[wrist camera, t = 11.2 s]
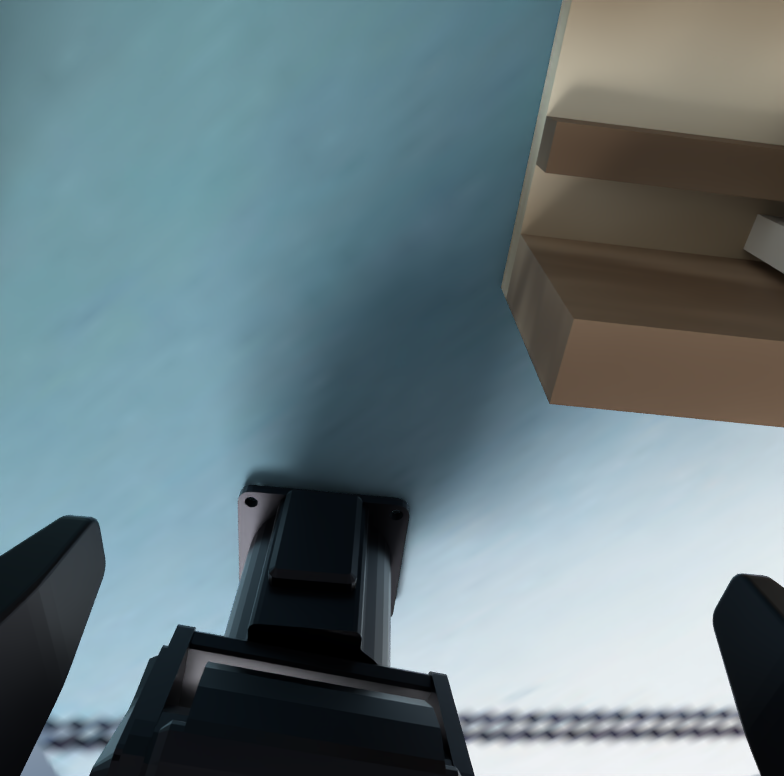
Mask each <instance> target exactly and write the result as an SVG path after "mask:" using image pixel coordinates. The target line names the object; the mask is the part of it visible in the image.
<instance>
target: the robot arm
mask: <svg viewBox="0 0 784 776" xmlns="http://www.w3.org/2000/svg"><path fill="white" fill-rule="evenodd" d="M248 497H253V498H255V499H257V500H250V499H249V498H248ZM393 510H399V511H401V512H400V513H393V512H392V511H393ZM408 521H409V505H408V504H407V502H406V501H404V500H403V499H399V498H390V497H379V496H368V495H357V494H346V493H335V492H324V491H313V490H302V489H291V488H280V487H269V486H258V485H248V486H246V487H244V488H243V489H242V490H241V492H240V495H239V498H238V534H239V586H238V589H237V593H236V596H235V600H234V603H233V607H232V610H231V614H230V617H229V621H228V624H227V628H226V631H225V635H224V636H221V635H215V634H210V633H205V632H199V631H195V629H196V628H195V627H190V626H184V625H179V624H178V626H177V628H176V630H175V632H174V635H173V637H172V639H171V641H170V643H169V646H165V645H163V647H162V648H161V651H160V653H159V655H158V656H156V657H153V658H150V659H149V662H148V664H147V667H146V669H145V672H144V674H143V677H142V679H141V682H140V684H139V687H138V689H137V692H136V694H135V697H134V699H133V701H132V703H131V705H130V708H129V710H128V711H127V713H126V715H125V717H124V718H123V720H122V722H121V723H120V725H119V726H118V728H117V730H116V731H115V733H114V734H113V736H112V737H111V739H110V741H109V742H108V744H107V745H106V747H105V749H104V750H103V752H102V753H101V755H100V757H99V758H98V760H97V761H96V763H95V765H94V766H93V768H92V770H91V773H90V775H89V776H474V772H473V768H472V765H471V761H470V757H469V754H468V750H467V746H466V743H465V739H464V736H463V732H462V728H461V725H460V721H459V717H458V714H457V710H456V707H455V703H454V699H453V696H452V692H451V688H450V685H449V681H448V678H447V675H446V674H441V673H436V672H429V674H425V673H419V672H414V671H408V670H403V669H398V668H392V667H390V630H391V616H392V615H393V611H394V605H395V599H396V593H397V587H398V581H399V575H400V569H401V563H402V557H403V551H404V545H405V539H406V533H407V527H408ZM104 572H105V554H104V549H103V543H102V537H101V532H100V526H99V523H98V521H97V520H96V519H95V518H92V517H86V516H74V515H66V516H63V517H61V518H59V519H57V520H55V521H54V522H52V523H51V524H49V525H48V526H46V527H45V528H43V529H41V530H40V531H38V532H37V533H35V534H34V535H32V536H31V537H29V538H27V539H26V540H24V541H23V542H21V543H20V544H18V545H17V546H15V547H13V548H12V549H10V550H9V551H7V552H6V553H4V554H3V555H1V556H0V776H20V775H21V773H22V771H23V768H24V766H25V764H26V762H27V760H28V758H29V756H30V754H31V752H32V750H33V748H34V746H35V744H36V742H37V740H38V738H39V736H40V734H41V732H42V730H43V727H44V725H45V723H46V721H47V719H48V717H49V715H50V713H51V711H52V709H53V707H54V705H55V703H56V701H57V698H58V696H59V694H60V692H61V690H62V688H63V685H64V683H65V680H66V678H67V675H68V673H69V670H70V667H71V665H72V662H73V659H74V657H75V654H76V651H77V648H78V645H79V643H80V640H81V637H82V634H83V632H84V629H85V626H86V623H87V621H88V618H89V615H90V612H91V610H92V607H93V604H94V601H95V599H96V596H97V593H98V590H99V588H100V585H101V582H102V579H103V576H104ZM713 627H714V631H715V635H716V638H717V642H718V645H719V649H720V652H721V656H722V659H723V662H724V666H725V669H726V673H727V676H728V680H729V683H730V686H731V690H732V693H733V697H734V700H735V704H736V707H737V711H738V714H739V717H740V720H741V723H742V727H743V730H744V733H745V736H746V738H747V741H748V744H749V746H750V749H751V752H752V754H753V757H754V760H755V762H756V765H757V767H758V770H759V772H760V775H761V776H784V588H783V587H782V586H781V585H779V584H778V583H777V582H775V581H774V580H772V579H771V578H769V577H767V576H763V575H754V574H737V575H736V576H734V577H733V578H732V579H731V581H730V583H729V585H728V586H727V588H726V590H725V592H724V594H723V595H722V597H721V599H720V601H719V602H718V604H717V606H716V608H715V610H714V614H713Z"/></svg>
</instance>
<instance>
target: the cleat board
mask: <svg viewBox="0 0 784 776" xmlns="http://www.w3.org/2000/svg"><path fill="white" fill-rule="evenodd" d="M758 214H762V215H770V216H778V217H784V0H563V1H562V5H561V10H560V15H559V19H558V24H557V29H556V33H555V38H554V43H553V47H552V52H551V57H550V61H549V66H548V71H547V75H546V80H545V85H544V89H543V94H542V99H541V103H540V108H539V113H538V117H537V122H536V127H535V131H534V136H533V141H532V145H531V150H530V155H529V159H528V164H527V169H526V173H525V178H524V183H523V187H522V192H521V197H520V201H519V206H518V211H517V215H516V220H515V225H514V229H513V234H512V239H511V243H510V248H509V253H508V257H507V262H506V267H505V271H504V276H503V281H502V285H501V289H502V291H503V293H504V296H505V298H506V301H507V303H508V305H509V308H510V310H511V313H512V315H513V317H514V320H515V322H516V324H517V327H518V329H519V332H520V334H521V336H522V339H523V341H524V344H525V346H526V348H527V351H528V353H529V356H530V358H531V360H532V363H533V365H534V368H535V370H536V372H537V375H538V377H539V380H540V382H541V384H542V387H543V389H544V392H545V394H546V396H547V399H548V401H549V404H556V405H566V406H576V407H586V408H596V409H606V410H616V411H626V412H636V413H646V414H656V415H666V416H676V417H686V418H695V419H705V420H715V421H725V422H735V423H745V424H755V425H765V426H775V427H784V274H783V273H782V272H780V271H779V270H777V269H775V268H774V267H772V266H770V265H769V264H767V263H766V262H764V261H762V260H761V259H759V258H757V257H756V256H754V255H753V254H751V253H749V252H748V251H746V250H744V249H743V248H744V246H745V244H746V241H747V239H748V236H749V234H750V232H751V229H752V227H753V224H754V222H755V220H756V217H757V215H758Z"/></svg>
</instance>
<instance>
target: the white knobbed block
mask: <svg viewBox="0 0 784 776" xmlns="http://www.w3.org/2000/svg"><path fill="white" fill-rule="evenodd" d="M743 249H744V250H746V251H748V252H749V253H751V254H753V255H754V256H756V257H757V258H759V259H761V260H762V261H764V262H766V263H767V264H769V265H770V266H772V267H774V268H775V269H777V270H779V271H780V272H782V273H783V274H784V217H778V216H770V215H762V214H758V215H757V217H756V220H755V222H754V224H753V227H752V229H751V232H750V234H749V236H748V239H747V241H746V244H745V246H744V248H743Z"/></svg>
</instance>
